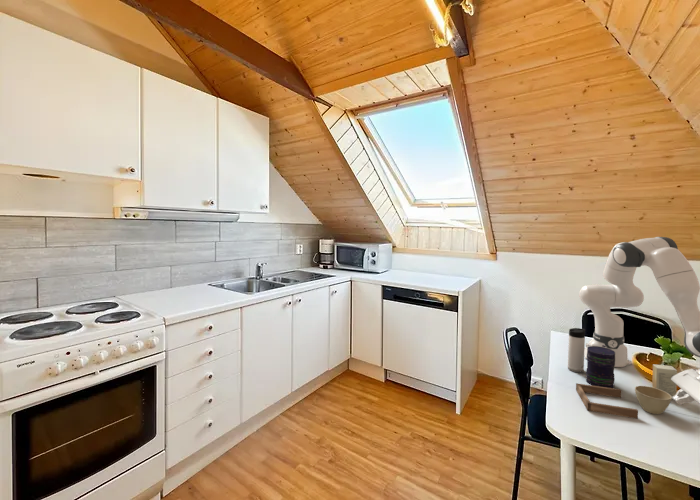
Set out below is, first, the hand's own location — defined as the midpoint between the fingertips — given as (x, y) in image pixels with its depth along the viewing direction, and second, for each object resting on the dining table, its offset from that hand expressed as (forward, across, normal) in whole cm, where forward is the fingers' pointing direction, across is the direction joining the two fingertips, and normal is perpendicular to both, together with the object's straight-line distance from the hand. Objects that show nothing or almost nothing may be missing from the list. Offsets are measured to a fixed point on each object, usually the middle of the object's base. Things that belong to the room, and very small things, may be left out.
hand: (675, 401), depth 119 cm
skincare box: (+2, -14, +5) cm, 15 cm away
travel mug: (+20, -30, -13) cm, 38 cm away
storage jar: (+16, -18, -9) cm, 26 cm away
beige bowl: (+8, 0, -1) cm, 8 cm away
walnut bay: (+18, 0, -11) cm, 21 cm away
